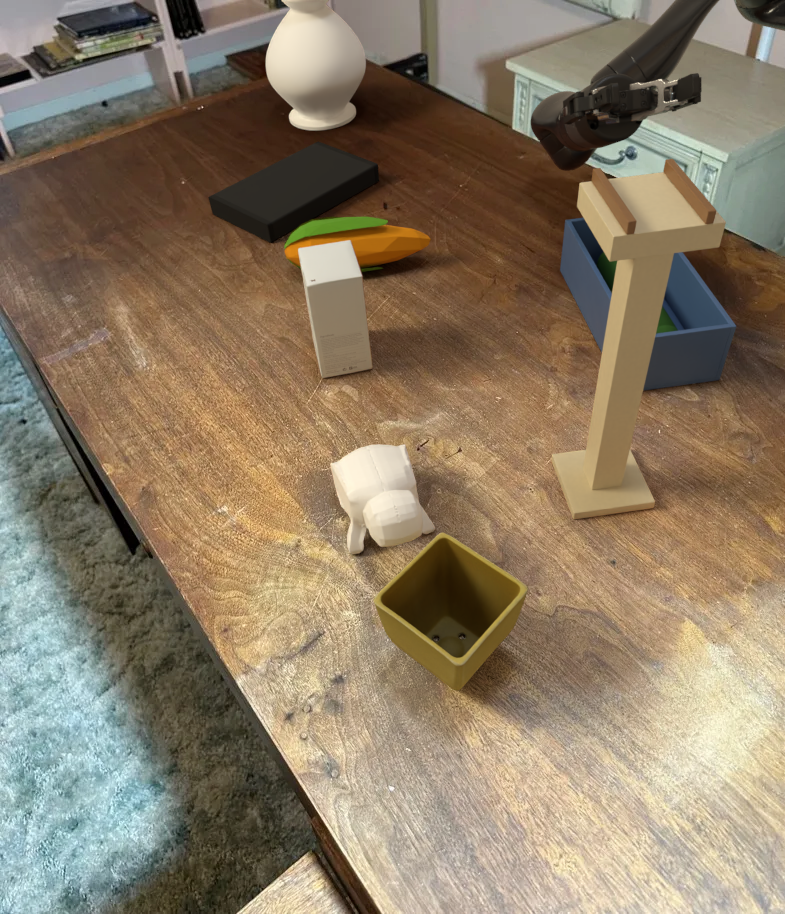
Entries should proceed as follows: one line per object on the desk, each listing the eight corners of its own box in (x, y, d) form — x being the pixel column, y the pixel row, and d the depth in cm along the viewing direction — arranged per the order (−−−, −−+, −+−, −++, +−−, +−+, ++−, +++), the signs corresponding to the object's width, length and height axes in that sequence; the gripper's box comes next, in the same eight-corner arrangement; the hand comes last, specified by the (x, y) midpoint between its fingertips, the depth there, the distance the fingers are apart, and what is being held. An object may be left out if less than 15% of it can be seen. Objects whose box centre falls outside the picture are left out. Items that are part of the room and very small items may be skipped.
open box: (641, 259, 103) (651, 208, 98) (719, 380, 86) (736, 326, 80) (559, 270, 103) (565, 219, 97) (622, 393, 85) (632, 340, 80)
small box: (373, 369, 91) (363, 276, 82) (321, 379, 91) (304, 286, 81) (362, 329, 97) (351, 238, 87) (312, 338, 96) (296, 247, 87)
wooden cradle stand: (623, 443, 80) (684, 156, 58) (653, 508, 74) (736, 216, 52) (548, 453, 80) (580, 169, 57) (572, 519, 74) (620, 231, 51)
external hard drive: (212, 214, 120) (208, 196, 118) (319, 158, 131) (317, 140, 128) (271, 243, 113) (267, 224, 110) (379, 181, 123) (378, 163, 121)
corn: (280, 208, 104) (427, 196, 103) (290, 255, 110) (429, 244, 109) (277, 240, 99) (431, 228, 99) (288, 287, 105) (433, 276, 104)
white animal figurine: (334, 514, 80) (363, 591, 67) (317, 441, 76) (344, 508, 63) (412, 493, 81) (456, 564, 68) (398, 420, 78) (442, 481, 64)
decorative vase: (335, 144, 134) (314, -18, 116) (256, 127, 141) (225, -28, 123) (388, 104, 144) (377, -50, 126) (311, 90, 151) (291, -58, 133)
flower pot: (524, 646, 65) (531, 586, 58) (460, 722, 61) (460, 667, 54) (444, 590, 69) (442, 529, 63) (379, 658, 65) (369, 599, 59)
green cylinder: (589, 272, 101) (595, 242, 98) (622, 268, 101) (628, 239, 98) (644, 370, 87) (652, 339, 84) (681, 366, 87) (691, 335, 84)
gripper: (659, 139, 96) (723, 119, 80) (548, 153, 95) (590, 136, 80) (658, 73, 94) (722, 40, 78) (544, 87, 93) (586, 57, 78)
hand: (655, 89), depth 79 cm, fingers open, 8 cm apart
